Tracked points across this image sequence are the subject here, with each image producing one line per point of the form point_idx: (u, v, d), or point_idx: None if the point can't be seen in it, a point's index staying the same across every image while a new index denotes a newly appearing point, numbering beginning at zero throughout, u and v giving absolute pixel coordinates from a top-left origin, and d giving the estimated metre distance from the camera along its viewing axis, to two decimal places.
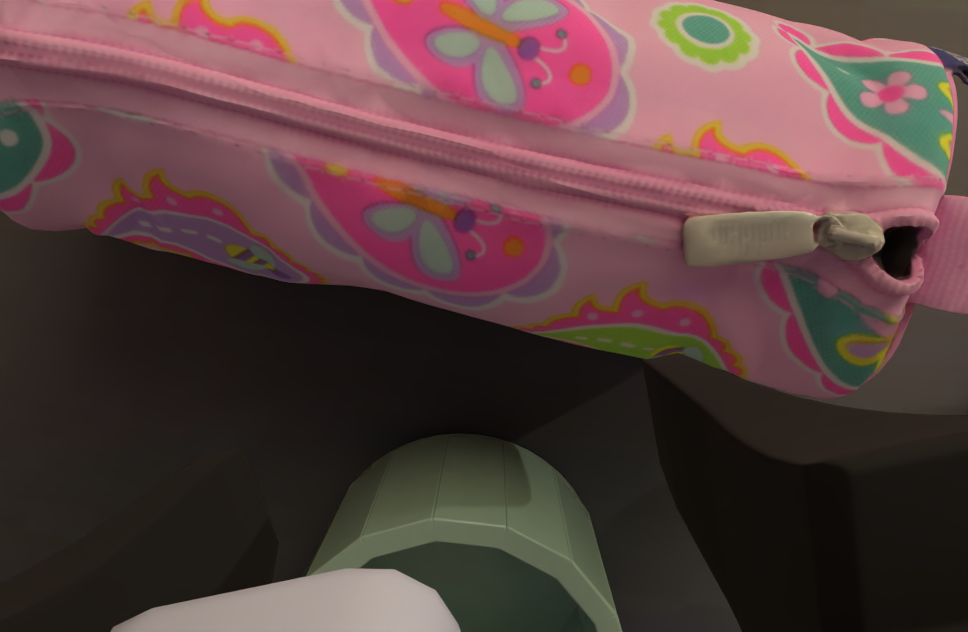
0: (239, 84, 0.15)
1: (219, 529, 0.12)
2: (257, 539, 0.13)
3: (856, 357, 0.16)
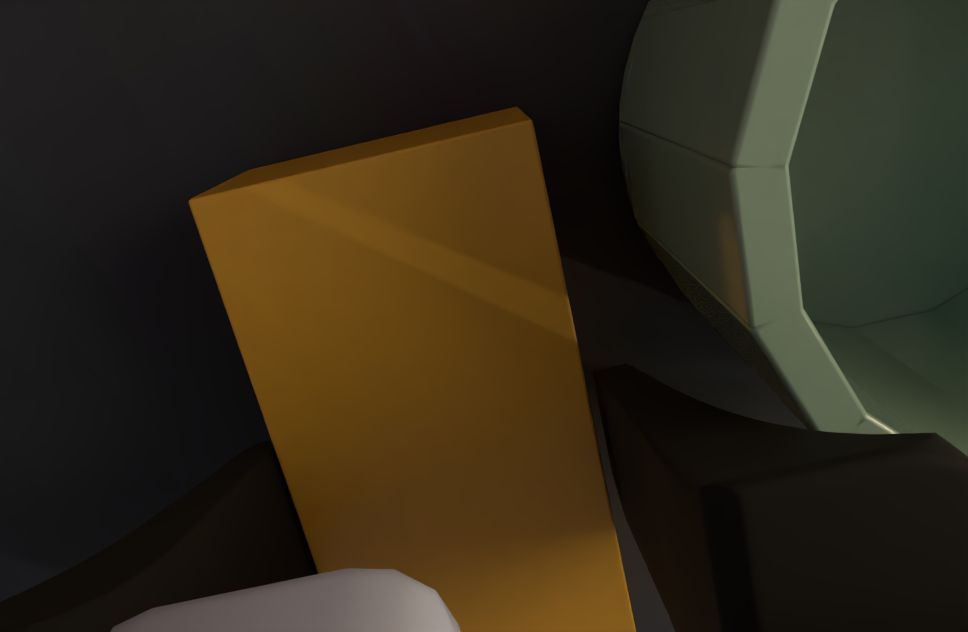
0: None
1: (272, 518, 0.12)
2: None
3: None
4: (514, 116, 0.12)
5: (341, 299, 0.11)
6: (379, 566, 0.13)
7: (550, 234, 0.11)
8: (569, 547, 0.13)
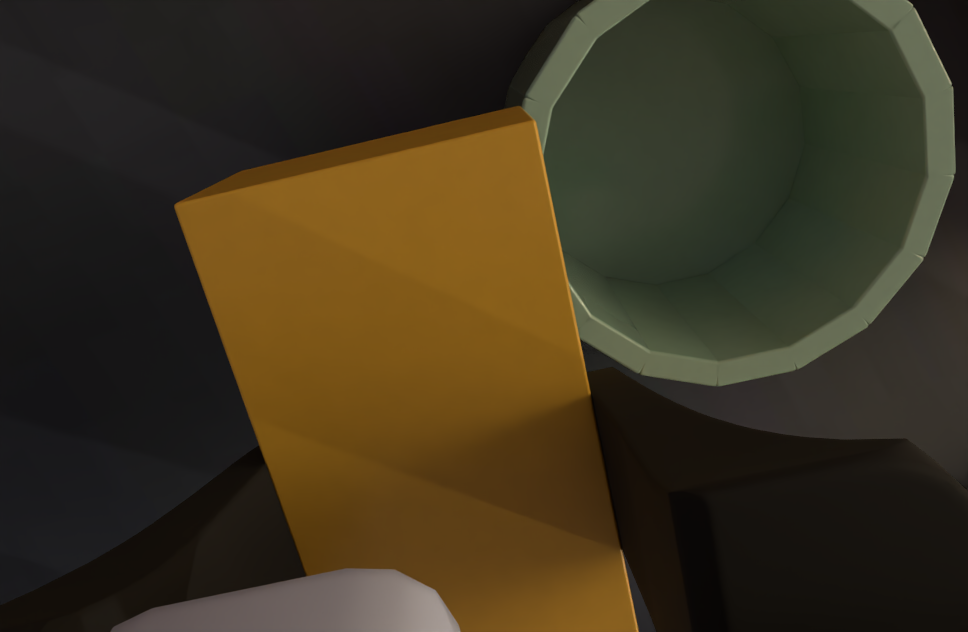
0: None
1: (283, 516, 0.12)
2: None
3: None
4: (516, 116, 0.11)
5: (335, 308, 0.11)
6: None
7: (554, 240, 0.11)
8: (573, 566, 0.12)
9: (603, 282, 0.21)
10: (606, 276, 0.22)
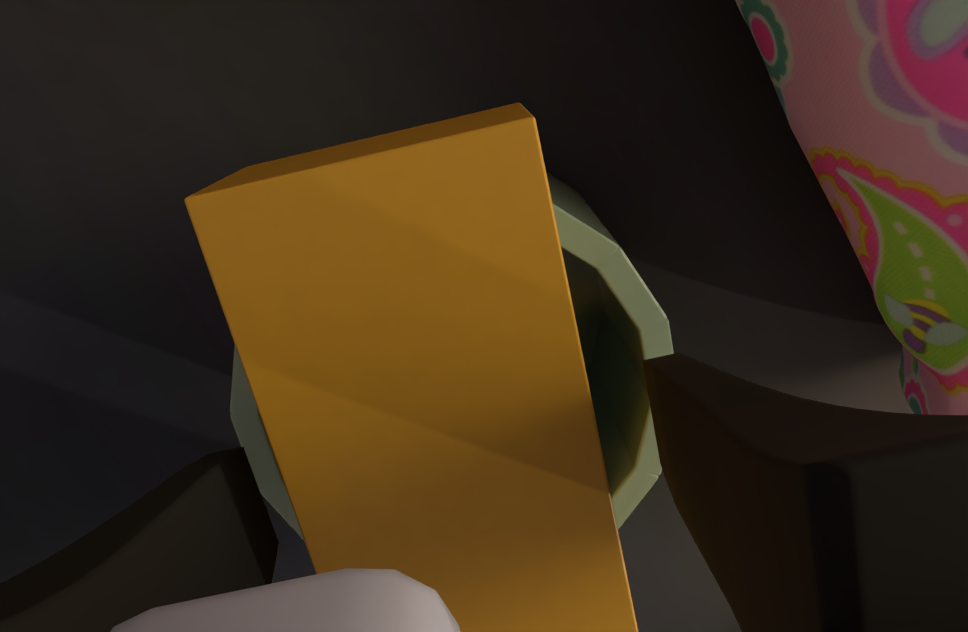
0: None
1: (219, 529, 0.12)
2: (257, 539, 0.13)
3: None
4: (516, 113, 0.12)
5: (340, 299, 0.11)
6: None
7: (553, 233, 0.11)
8: (571, 550, 0.13)
9: None
10: None
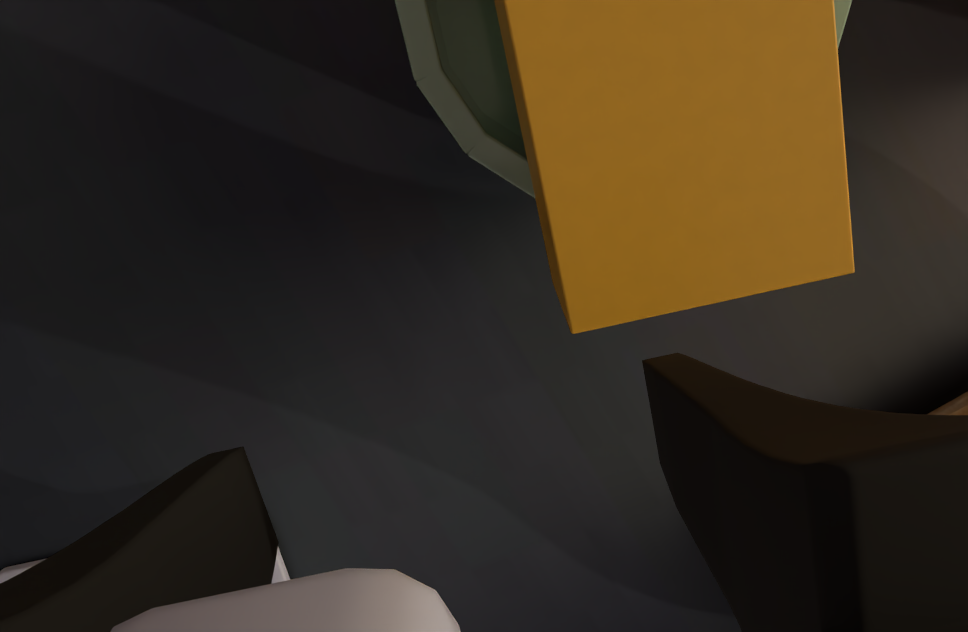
0: None
1: (219, 529, 0.12)
2: (257, 539, 0.13)
3: None
4: None
5: None
6: (583, 59, 0.12)
7: None
8: (785, 38, 0.12)
9: None
10: None
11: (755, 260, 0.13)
